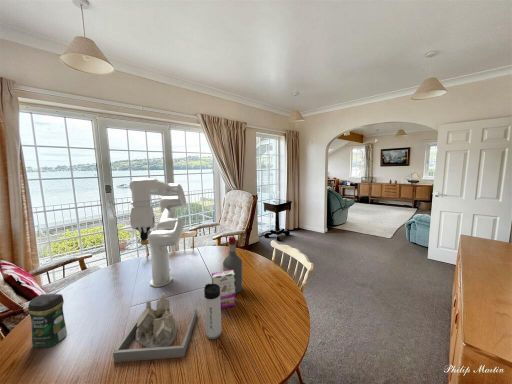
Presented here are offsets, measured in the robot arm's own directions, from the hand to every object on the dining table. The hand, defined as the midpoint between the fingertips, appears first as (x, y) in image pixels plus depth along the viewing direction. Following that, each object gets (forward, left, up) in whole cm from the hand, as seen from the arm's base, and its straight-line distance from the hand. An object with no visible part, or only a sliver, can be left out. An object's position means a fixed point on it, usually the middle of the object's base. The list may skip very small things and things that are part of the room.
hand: (144, 239), depth 104 cm
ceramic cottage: (+25, +14, -32) cm, 43 cm away
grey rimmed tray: (+25, +16, -32) cm, 44 cm away
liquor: (-5, +44, -32) cm, 55 cm away
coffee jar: (+24, -27, -32) cm, 48 cm away
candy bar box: (+8, +40, -32) cm, 52 cm away
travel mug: (+26, +37, -32) cm, 56 cm away
